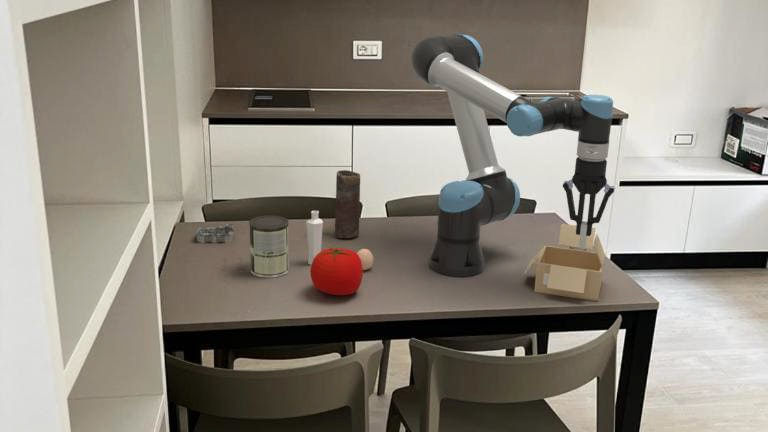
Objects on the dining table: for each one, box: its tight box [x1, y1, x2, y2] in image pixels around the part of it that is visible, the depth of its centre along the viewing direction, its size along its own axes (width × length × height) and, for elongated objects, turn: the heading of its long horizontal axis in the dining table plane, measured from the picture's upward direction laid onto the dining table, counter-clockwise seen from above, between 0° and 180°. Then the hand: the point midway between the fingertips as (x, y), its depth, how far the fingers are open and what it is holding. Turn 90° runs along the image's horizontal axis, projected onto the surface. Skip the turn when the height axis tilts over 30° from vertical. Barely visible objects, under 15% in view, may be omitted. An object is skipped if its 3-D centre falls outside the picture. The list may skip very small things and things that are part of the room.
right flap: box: [593, 233, 606, 266], centre depth 204 cm, size 1×8×6 cm, turn 159°
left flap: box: [523, 247, 544, 276], centre depth 210 cm, size 1×8×6 cm
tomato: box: [310, 247, 364, 296], centre depth 200 cm, size 13×14×12 cm
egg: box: [356, 248, 375, 271], centre depth 216 cm, size 5×5×6 cm
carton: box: [533, 245, 606, 303], centre depth 208 cm, size 16×14×8 cm
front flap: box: [547, 265, 587, 293], centre depth 200 cm, size 9×1×6 cm, turn 71°
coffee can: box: [248, 214, 290, 279], centre depth 211 cm, size 10×10×14 cm
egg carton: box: [196, 223, 235, 244], centre depth 235 cm, size 11×8×4 cm
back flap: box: [557, 223, 596, 251], centre depth 214 cm, size 9×1×6 cm
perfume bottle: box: [305, 210, 324, 266], centre depth 217 cm, size 5×4×15 cm
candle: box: [334, 169, 361, 239], centre depth 238 cm, size 8×7×20 cm
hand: (582, 246), depth 205 cm, fingers closed
